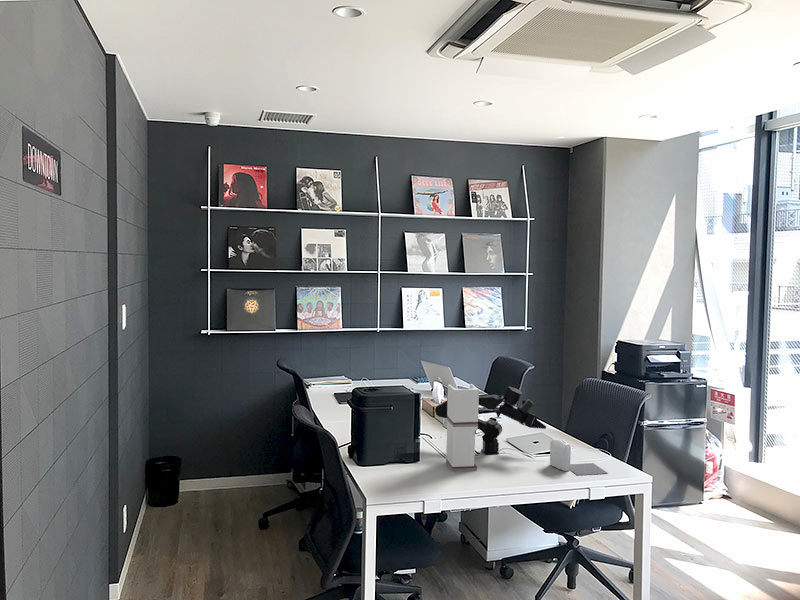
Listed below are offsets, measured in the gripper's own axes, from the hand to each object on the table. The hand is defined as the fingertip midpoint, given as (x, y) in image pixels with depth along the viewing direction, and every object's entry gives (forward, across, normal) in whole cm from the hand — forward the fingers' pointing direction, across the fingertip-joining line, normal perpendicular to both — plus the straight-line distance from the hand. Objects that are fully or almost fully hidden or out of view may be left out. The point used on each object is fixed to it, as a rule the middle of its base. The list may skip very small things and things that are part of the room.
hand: (543, 426), depth 306 cm
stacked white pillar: (-28, -13, +31) cm, 44 cm away
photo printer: (+11, -12, +14) cm, 21 cm away
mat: (+20, -14, +9) cm, 26 cm away
